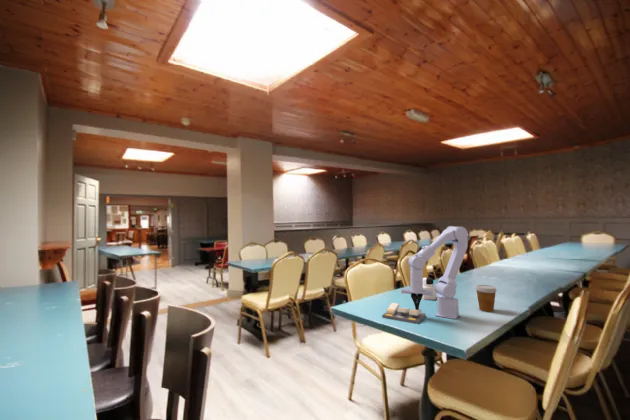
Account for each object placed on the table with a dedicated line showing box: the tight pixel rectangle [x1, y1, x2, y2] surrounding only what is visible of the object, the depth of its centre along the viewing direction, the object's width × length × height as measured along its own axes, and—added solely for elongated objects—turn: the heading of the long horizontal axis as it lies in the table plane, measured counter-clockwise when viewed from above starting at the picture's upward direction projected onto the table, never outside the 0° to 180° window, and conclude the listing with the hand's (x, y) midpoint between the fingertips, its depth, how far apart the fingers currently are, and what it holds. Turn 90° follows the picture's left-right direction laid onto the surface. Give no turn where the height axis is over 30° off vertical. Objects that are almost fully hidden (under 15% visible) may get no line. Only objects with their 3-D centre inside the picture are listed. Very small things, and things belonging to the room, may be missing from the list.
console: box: [381, 309, 426, 325], centre depth 151 cm, size 17×13×2 cm
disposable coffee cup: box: [475, 284, 497, 313], centre depth 159 cm, size 10×10×12 cm
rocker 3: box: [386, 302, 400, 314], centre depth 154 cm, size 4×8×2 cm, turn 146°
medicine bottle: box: [422, 276, 437, 301], centre depth 184 cm, size 7×7×12 cm
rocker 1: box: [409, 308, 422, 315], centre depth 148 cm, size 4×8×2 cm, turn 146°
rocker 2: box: [397, 307, 411, 313], centre depth 151 cm, size 4×8×2 cm, turn 146°
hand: (417, 309), depth 150 cm, fingers closed, pressing on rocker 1
